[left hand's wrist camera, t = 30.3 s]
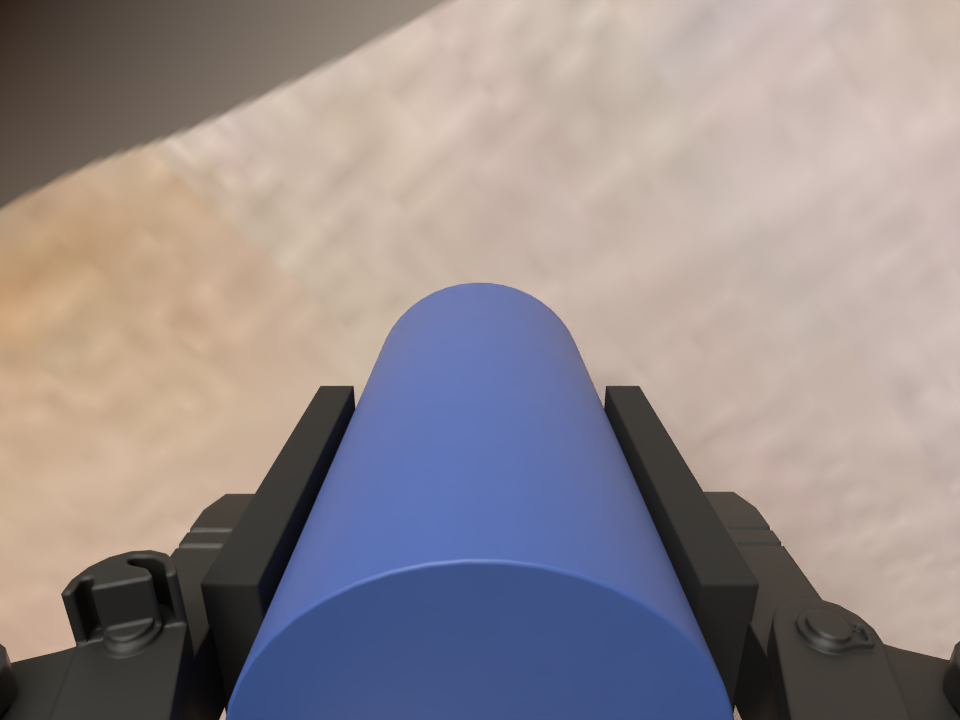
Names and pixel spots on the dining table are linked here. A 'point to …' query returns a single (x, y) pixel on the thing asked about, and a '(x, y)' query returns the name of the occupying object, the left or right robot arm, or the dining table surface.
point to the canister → (479, 546)
